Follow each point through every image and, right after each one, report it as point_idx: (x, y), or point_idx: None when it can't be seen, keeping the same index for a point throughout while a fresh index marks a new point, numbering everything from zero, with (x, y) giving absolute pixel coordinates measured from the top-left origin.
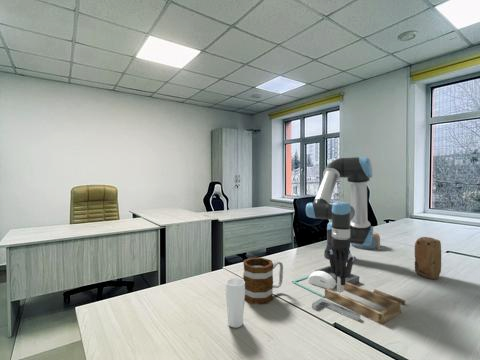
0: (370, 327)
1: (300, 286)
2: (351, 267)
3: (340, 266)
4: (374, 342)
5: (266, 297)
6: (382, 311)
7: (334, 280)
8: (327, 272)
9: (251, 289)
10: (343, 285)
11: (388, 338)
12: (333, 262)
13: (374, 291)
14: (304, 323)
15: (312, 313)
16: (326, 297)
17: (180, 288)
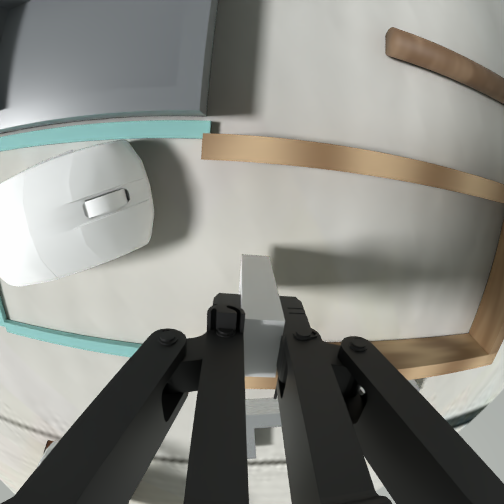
0: (442, 384)
1: (50, 339)
2: (441, 432)
3: (292, 481)
4: (449, 419)
5: None
6: (495, 342)
7: (122, 174)
8: (5, 33)
9: None
10: (273, 280)
11: (479, 382)
12: (134, 466)
13: (400, 54)
14: (278, 488)
15: (262, 459)
16: None
17: (19, 487)
